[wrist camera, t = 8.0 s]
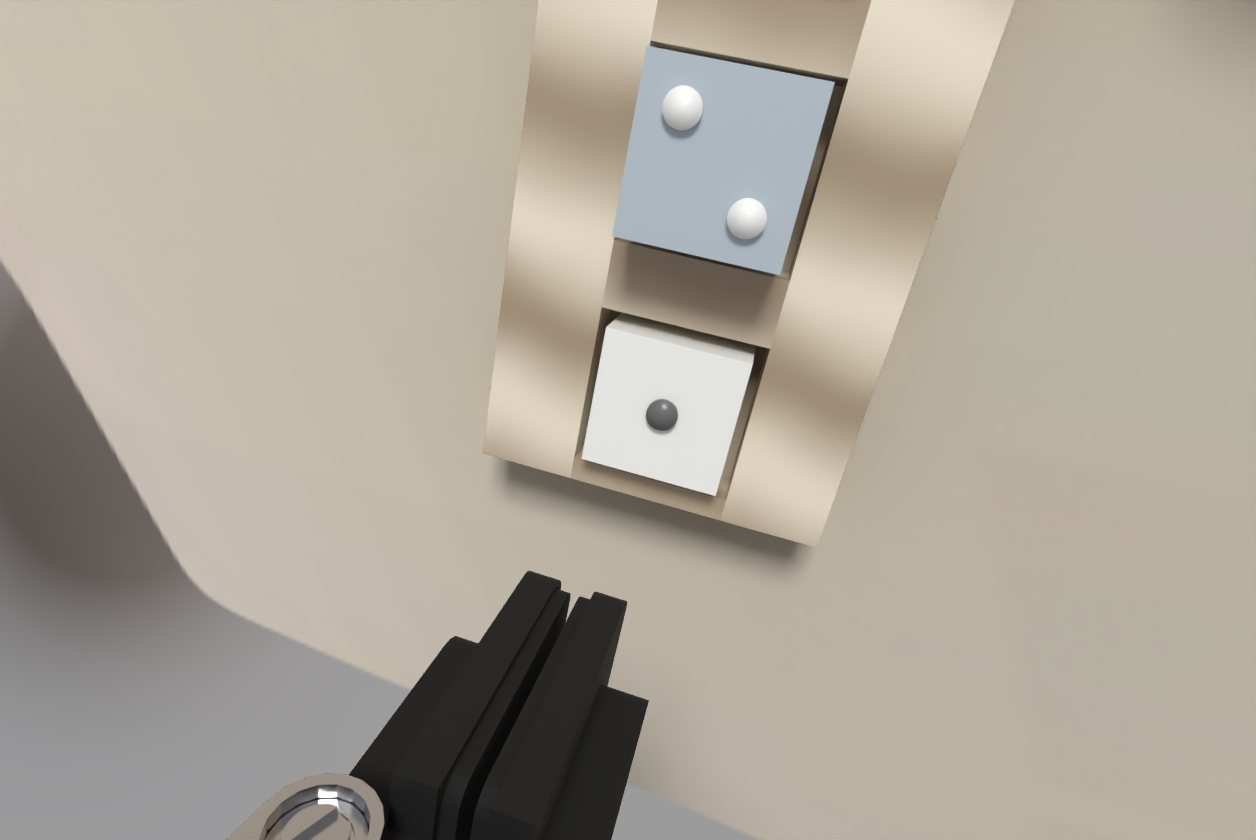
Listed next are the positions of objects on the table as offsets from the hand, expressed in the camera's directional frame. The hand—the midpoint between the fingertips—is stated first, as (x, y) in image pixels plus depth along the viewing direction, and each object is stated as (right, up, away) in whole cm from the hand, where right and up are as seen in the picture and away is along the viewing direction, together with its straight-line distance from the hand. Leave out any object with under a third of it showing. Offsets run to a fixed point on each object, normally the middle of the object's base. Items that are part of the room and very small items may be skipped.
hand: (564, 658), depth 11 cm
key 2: (+4, +11, +8) cm, 14 cm away
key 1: (+3, +5, +12) cm, 14 cm away
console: (+4, +12, +10) cm, 16 cm away
